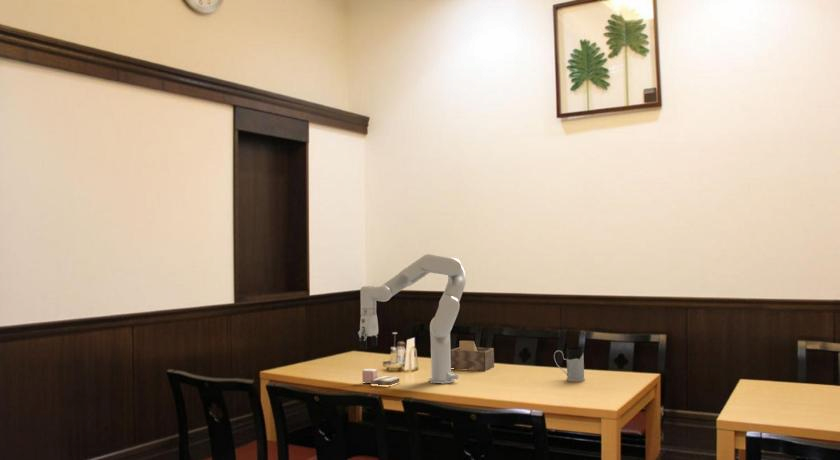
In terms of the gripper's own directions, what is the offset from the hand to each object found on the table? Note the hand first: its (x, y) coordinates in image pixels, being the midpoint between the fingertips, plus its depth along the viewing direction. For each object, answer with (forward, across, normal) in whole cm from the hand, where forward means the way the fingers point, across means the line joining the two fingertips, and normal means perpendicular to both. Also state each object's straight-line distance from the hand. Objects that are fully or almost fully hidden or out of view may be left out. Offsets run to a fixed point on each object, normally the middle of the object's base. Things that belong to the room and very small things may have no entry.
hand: (368, 347), depth 321 cm
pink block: (+17, 0, 0) cm, 17 cm away
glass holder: (+16, +41, -87) cm, 97 cm away
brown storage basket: (+17, +56, -31) cm, 66 cm away
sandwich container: (+17, +57, -30) cm, 67 cm away
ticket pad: (+17, 0, -9) cm, 19 cm away
